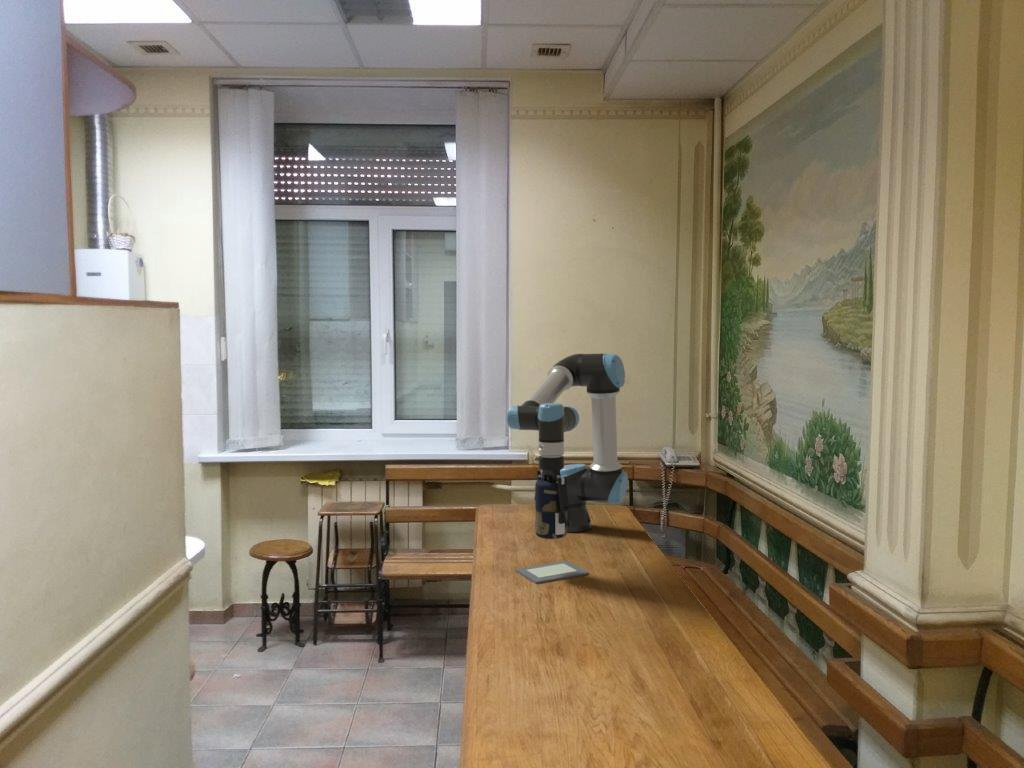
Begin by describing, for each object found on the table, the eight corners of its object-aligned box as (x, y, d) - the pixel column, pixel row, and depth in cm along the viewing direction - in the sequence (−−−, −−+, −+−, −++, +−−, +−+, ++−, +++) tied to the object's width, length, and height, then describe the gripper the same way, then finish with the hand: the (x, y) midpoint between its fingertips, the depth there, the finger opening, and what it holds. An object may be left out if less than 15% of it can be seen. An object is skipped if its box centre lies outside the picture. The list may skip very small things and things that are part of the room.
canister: (567, 533, 220) (567, 474, 219) (567, 541, 211) (566, 480, 210) (536, 532, 221) (536, 474, 220) (534, 540, 212) (534, 480, 211)
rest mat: (566, 562, 226) (566, 560, 226) (588, 574, 215) (588, 571, 215) (515, 570, 218) (515, 568, 218) (535, 583, 207) (535, 581, 207)
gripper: (522, 451, 223) (523, 523, 224) (559, 462, 203) (559, 540, 204) (544, 449, 226) (544, 520, 227) (581, 459, 206) (581, 537, 208)
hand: (551, 529), depth 216 cm, fingers closed on canister, 9 cm apart
